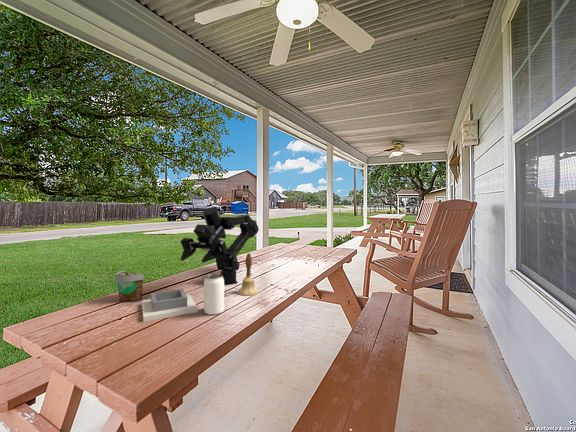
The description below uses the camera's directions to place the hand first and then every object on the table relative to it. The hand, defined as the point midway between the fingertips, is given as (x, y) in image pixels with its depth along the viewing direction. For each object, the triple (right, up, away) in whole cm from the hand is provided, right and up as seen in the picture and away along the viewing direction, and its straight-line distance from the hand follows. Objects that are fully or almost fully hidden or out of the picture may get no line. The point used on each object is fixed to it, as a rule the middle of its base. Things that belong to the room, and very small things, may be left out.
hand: (191, 260), depth 101 cm
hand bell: (+19, -15, +11) cm, 27 cm away
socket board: (-6, -15, -6) cm, 17 cm away
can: (+10, -16, -8) cm, 21 cm away
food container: (-25, -15, +2) cm, 29 cm away
